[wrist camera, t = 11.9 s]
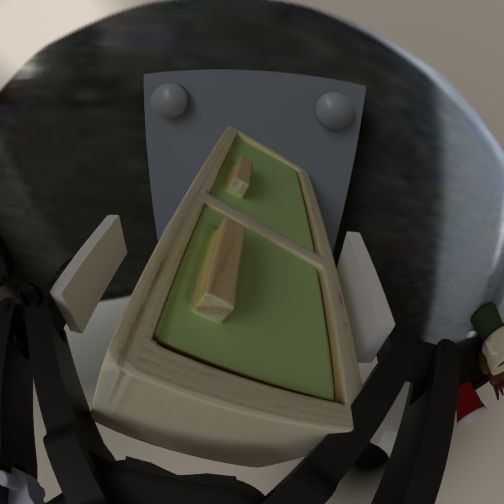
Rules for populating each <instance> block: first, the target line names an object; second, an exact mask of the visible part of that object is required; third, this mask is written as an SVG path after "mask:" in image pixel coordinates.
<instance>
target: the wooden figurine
mask: <svg viewBox="0 0 504 504" xmlns="http://www.w3.org/2000/svg"><path fill="white" fill-rule="evenodd" d="M478 361H479V365H480V368H481V371H482V372H483V373H484V374H485V375H489V382H490V384H491V385H492V386H493V387H494V390H495V393H496V397H497V400H499V392H498V388H499V390H500V392H501V394H502V395H504V394H503V389H502V387H503V388H504V371H503V372H501V373H499V374H497V375H492V374H491V371H490V369H489V367H488V363H487V359H486V357H485V355H484V354H483V352H482V347H481V348H480V350H479V353H478Z"/></svg>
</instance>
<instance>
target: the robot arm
mask: <svg viewBox="0 0 504 504" xmlns="http://www.w3.org/2000/svg"><path fill="white" fill-rule="evenodd" d="M126 254H127V250H126V246H125V242H124V237H123V233H122V228H121V223H120V219H119V215H108V216H107V217H106V218H105V219H104V220H103V222H102V223H101V224H100V225H99V226H98V228H97V229H96V230H95V231H94V232H93V234H92V235H91V236H90V237H89V239H88V240H87V241H86V242H85V244H84V245H83V246H82V247H81V249H80V250H79V251H78V253H77V254H76V255H75V256H74V258H69V259H68V260H67V261H66V262H64V263H63V264H62V266H61V267H60V268H59V270H58V271H57V272H56V274H55V276H53V278H52V279H51V281H50V282H49V283H48V285H47V286H46V288H45V289H44V291H43V290H42V288H41V286H40V284H39V282H37V281H29V282H27V283H25V284H24V285H23V286H22V287H21V288H20V290H19V292H18V296H19V298H20V299H21V301H22V303H21V304H17V303H16V301H15V300H14V298H12V297H7V298H4V299H3V300H2V301H1V302H0V504H325V503H326V502H327V501H328V499H329V498H330V497H331V496H332V495H333V493H334V492H335V490H336V487H337V485H338V483H339V482H340V480H341V479H342V478H343V477H344V475H345V474H346V473H347V472H348V470H349V469H350V468H351V466H352V465H353V464H354V462H355V461H356V460H357V458H358V457H359V455H360V454H361V453H362V451H363V450H364V449H365V447H366V446H367V444H368V443H369V441H370V440H371V439H372V437H373V436H374V434H375V433H376V431H377V429H378V428H379V426H380V425H381V423H382V422H383V420H384V418H385V417H386V415H387V413H388V412H389V410H390V408H391V407H392V405H393V403H394V402H395V400H396V398H397V396H398V395H399V393H400V391H401V389H402V387H403V385H404V383H405V382H410V386H409V391H408V395H407V399H406V403H405V407H404V411H403V415H402V419H401V423H400V426H399V430H398V433H397V436H396V440H395V443H394V446H393V449H392V452H391V455H390V458H389V461H388V463H387V466H386V469H385V472H384V474H383V477H382V479H381V482H380V484H379V487H378V489H377V492H376V494H375V496H374V498H373V501H372V503H371V504H434V503H435V500H436V497H437V494H438V491H439V488H440V484H441V481H442V477H443V473H444V470H445V466H446V461H447V457H448V452H449V448H450V442H451V437H452V431H453V426H454V418H455V412H456V404H457V394H458V383H459V366H460V352H459V348H458V347H457V345H456V344H455V343H454V342H453V341H451V340H449V339H442V340H440V341H439V342H438V344H437V345H435V344H431V343H428V342H424V341H422V338H421V337H420V335H419V334H418V333H417V332H415V331H414V330H411V329H410V326H409V323H408V321H407V318H406V315H405V313H404V310H403V307H401V306H402V305H401V302H400V300H399V297H398V295H397V292H396V291H395V289H394V288H393V287H392V286H391V285H390V284H386V283H380V281H379V278H378V276H377V273H376V271H375V268H374V266H373V263H372V261H371V258H370V256H369V253H368V251H367V249H366V246H365V244H364V242H363V239H362V237H361V235H360V233H358V232H348V231H347V233H346V237H345V241H344V244H343V248H342V251H341V255H340V258H339V262H338V265H337V269H336V270H337V274H338V278H339V281H340V285H341V289H342V293H343V297H344V301H345V305H346V310H347V314H348V318H349V323H350V327H351V332H352V337H353V341H354V346H355V352H356V357H357V362H358V363H369V362H372V361H373V359H374V358H375V357H376V356H377V360H378V364H377V365H376V366H375V368H374V369H373V371H372V372H371V373H370V376H369V377H368V378H367V380H366V381H365V383H364V384H363V386H362V390H361V391H360V393H359V394H358V396H357V397H356V399H355V400H354V401H353V403H352V404H351V413H352V420H353V428H354V429H353V430H352V431H350V432H344V433H330V434H328V435H327V436H326V437H325V438H324V439H323V440H322V441H321V442H320V443H319V444H318V445H317V446H316V447H315V448H314V449H312V450H311V451H310V452H309V453H308V455H307V456H306V457H305V458H304V459H303V460H302V461H301V462H300V463H299V464H298V465H297V466H296V468H294V469H293V470H292V472H290V473H289V474H288V475H287V476H286V477H285V478H284V479H283V480H282V481H281V482H280V483H279V484H278V485H277V486H276V487H275V488H274V489H273V490H271V491H270V492H269V493H268V494H267V495H266V496H264V494H262V493H261V492H260V491H259V490H258V489H256V488H255V487H253V486H251V485H249V484H247V483H245V482H242V481H239V480H236V476H226V475H217V474H208V473H206V474H193V475H176V474H174V473H171V472H169V471H167V470H165V469H163V468H161V467H159V466H157V465H155V464H152V463H150V462H146V461H142V460H139V459H135V458H131V457H128V456H126V459H125V460H119V461H116V460H115V458H114V456H113V455H112V453H111V452H110V451H109V450H108V448H107V447H106V446H105V444H104V442H103V440H102V437H101V435H100V433H99V431H98V428H97V426H96V424H95V421H94V420H92V418H91V417H90V415H91V411H90V409H89V406H88V404H87V401H86V398H85V396H84V393H83V390H82V387H81V384H80V381H79V378H78V375H77V372H76V368H75V365H74V362H73V358H72V355H71V351H70V347H69V344H68V340H67V336H66V332H65V330H64V326H65V324H66V323H67V325H68V327H69V329H70V330H71V331H74V332H78V333H83V331H84V329H85V327H86V325H87V323H88V321H89V319H90V317H91V315H92V313H93V311H94V310H95V307H96V306H97V304H98V302H99V300H100V298H101V297H102V295H103V293H104V291H105V290H106V288H107V286H108V284H109V282H110V281H111V279H112V277H113V276H114V274H115V272H116V270H117V269H118V267H119V265H120V264H121V262H122V260H123V259H124V257H125V256H126ZM13 271H14V269H13V263H12V260H11V257H10V254H9V252H8V250H7V248H6V246H5V245H4V243H3V241H2V240H1V239H0V287H1V286H3V285H4V284H6V283H7V282H8V281H9V279H10V278H11V277H12V275H13ZM33 378H34V383H35V388H36V393H37V396H38V401H39V406H40V410H41V414H42V417H43V421H44V424H45V428H46V432H47V434H46V435H45V436H44V439H43V441H44V446H45V449H46V452H47V455H48V458H49V460H50V463H51V466H52V468H53V471H54V473H55V476H56V478H57V481H58V483H59V486H60V488H61V490H62V493H61V494H60V495H58V496H56V497H55V498H53V499H52V500H50V501H49V502H47V503H45V502H44V500H43V498H44V497H45V491H44V489H43V488H42V487H41V486H40V484H39V483H38V481H37V458H36V449H35V438H34V423H33Z"/></svg>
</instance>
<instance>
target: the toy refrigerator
mask: <svg viewBox="0 0 504 504" xmlns="http://www.w3.org/2000/svg"><path fill="white" fill-rule="evenodd" d="M361 390H362V383H361V378H360V372H359V367H358V362H357V357H356V352H355V346H354V341H353V337H352V332H351V327H350V323H349V318H348V314H347V310H346V305H345V301H344V297H343V293H342V289H341V285H340V281H339V278H338V274H337V270H336V267H335V263H334V259H333V255H332V251H331V247H330V244H329V240H328V237H327V233H326V229H325V226H324V222H323V219H322V216H321V212H320V209H319V206H318V202H317V199H316V196H315V193H314V190H313V186H312V184H311V181H310V178H309V175H308V173H307V171H306V170H304V169H303V168H301V167H300V166H298V165H296V164H295V163H293V162H292V161H290V160H288V159H287V158H285V157H284V156H282V155H280V154H279V153H277V152H276V151H274V150H272V149H271V148H269V147H267V146H266V145H264V144H262V143H260V142H259V141H257V140H255V139H254V138H252V137H250V136H248V135H247V134H245V133H243V132H241V131H240V130H238V129H236V128H234V127H232V126H228V127H227V128H226V130H225V131H224V133H223V135H222V136H221V138H220V139H219V141H218V142H217V144H216V145H215V147H214V149H213V150H212V152H211V153H210V155H209V156H208V158H207V159H206V161H205V163H204V165H203V166H202V168H201V169H200V171H199V173H198V174H197V176H196V177H195V179H194V181H193V182H192V184H191V186H190V187H189V189H188V191H187V192H186V194H185V196H184V197H183V199H182V201H181V203H180V204H179V206H178V208H177V210H176V211H175V213H174V215H173V217H172V218H171V220H170V222H169V224H168V226H167V227H166V229H165V231H164V233H163V235H162V237H161V238H160V240H159V242H158V244H157V246H156V248H155V250H154V252H153V254H152V256H151V257H150V259H149V261H148V263H147V265H146V267H145V269H144V271H143V273H142V275H141V277H140V279H139V281H138V283H137V285H136V287H135V289H134V291H133V293H132V295H131V298H130V300H129V302H128V304H127V306H126V308H125V310H124V312H123V315H122V317H121V319H120V321H119V324H118V326H117V328H116V330H115V333H114V335H113V337H112V340H111V342H110V344H109V346H108V349H107V351H106V354H105V357H104V360H103V364H102V366H101V370H100V374H99V378H98V382H97V386H96V391H95V395H94V400H93V405H92V409H91V415H90V417H91V418H92V420H94V421H95V422H97V423H99V424H101V425H103V426H106V427H108V428H110V429H112V430H114V431H117V432H119V433H122V434H124V435H127V436H129V437H132V438H135V439H137V440H140V441H143V442H146V443H149V444H152V445H155V446H159V447H162V448H166V449H169V450H172V451H176V452H180V453H184V454H187V455H191V456H195V457H200V458H204V459H209V460H214V461H218V462H224V463H229V464H235V465H241V466H248V467H264V466H269V465H273V464H277V463H282V462H286V461H290V460H293V459H297V458H301V457H304V456H307V455H308V453H309V452H310V451H311V450H312V449H314V448H315V447H316V446H317V445H318V444H319V443H320V442H321V441H322V440H323V439H324V438H325V437H326V436H327V435H328V434H330V433H344V432H350V431H352V430H353V429H354V428H353V420H352V413H351V404H352V403H353V401H354V400H355V399H356V397H357V396H358V394H359V393H360V391H361Z"/></svg>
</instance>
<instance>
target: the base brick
mask: <svg viewBox="0 0 504 504" xmlns="http://www.w3.org/2000/svg"><path fill="white" fill-rule="evenodd" d="M365 91H366V86H363V85H359V84H355V83H351V82H346V81H341V80H336V79H330V78H324V77H317V76H310V75H303V74H294V73H285V72H274V71H260V70H236V69H203V70H180V71H166V72H157V73H149V74H144V105H145V125H146V140H147V153H148V165H149V175H150V184H151V193H152V201H153V209H154V217H155V224H156V231H157V237H158V242H159V240H160V238H161V237H162V235H163V233H164V231H165V229H166V227H167V226H168V224H169V222H170V220H171V218H172V217H173V215H174V213H175V211H176V210H177V208H178V206H179V204H180V203H181V201H182V199H183V197H184V196H185V194H186V192H187V191H188V189H189V187H190V186H191V184H192V182H193V181H194V179H195V177H196V176H197V174H198V173H199V171H200V169H201V168H202V166H203V165H204V163H205V161H206V159H207V158H208V156H209V155H210V153H211V152H212V150H213V149H214V147H215V145H216V144H217V142H218V141H219V139H220V138H221V136H222V135H223V133H224V131H225V130H226V128H227V127H228V126H232V127H234V128H236V129H238V130H240V131H241V132H243V133H245V134H247V135H248V136H250V137H252V138H254V139H255V140H257V141H259V142H260V143H262V144H264V145H266V146H267V147H269V148H271V149H272V150H274V151H276V152H277V153H279V154H280V155H282V156H284V157H285V158H287V159H288V160H290V161H292V162H293V163H295V164H296V165H298V166H300V167H301V168H303V169H304V170H306V171H307V173H308V175H309V178H310V181H311V184H312V186H313V190H314V193H315V196H316V199H317V202H318V206H319V209H320V212H321V216H322V219H323V222H324V226H325V229H326V233H327V237H328V240H329V244H330V247H331V251H332V253H333V250H334V246H335V242H336V238H337V234H338V230H339V226H340V222H341V218H342V214H343V209H344V205H345V201H346V196H347V192H348V187H349V182H350V178H351V173H352V168H353V163H354V158H355V152H356V147H357V142H358V136H359V130H360V124H361V118H362V112H363V105H364V98H365Z"/></svg>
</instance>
